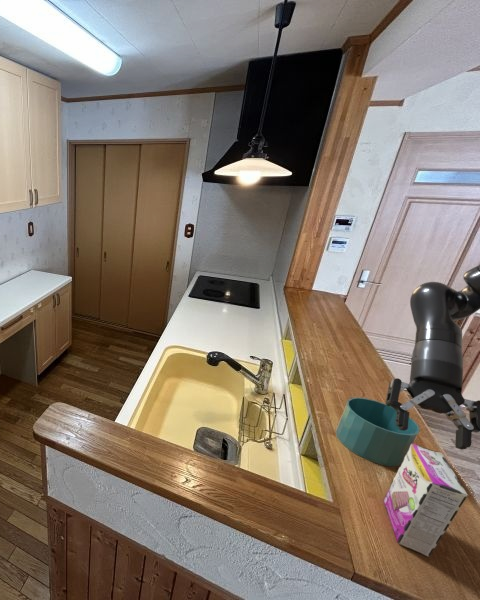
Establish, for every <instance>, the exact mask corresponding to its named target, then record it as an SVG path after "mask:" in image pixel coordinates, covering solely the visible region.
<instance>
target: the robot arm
mask: <svg viewBox="0 0 480 600" xmlns="http://www.w3.org/2000/svg"><path fill="white" fill-rule="evenodd" d="M462 277H463V280H464V282H465V283H466V286H464V288H462V289H461V290H456V289H454V288H452V287H451V286H449V285H447V284H445V283H443V282H439V281H427V282H424V283H422V284H420V285H418V286H416V288H415V289H414V290H413V291H412V293H411V295H410V298H409V299H410V300H409V305H410V310H411V311H410V312H411V315H412V319H413V322H414V325H415V328H416V331H415V339H414V347H413V350H412V354H411V358H410V361H411V366H410V374H409V375H410V376H409V382H408V383H407V382H405V381H403V380H402V379H400V378H399V377H398V378H394V379H392V380H391V381H390V382H389V384H388V389H387V393H386V399H385V404H386V405H387V406H391V407H392V408H394V409H395V410H396V412H397V413H396V422H395V423H396V426H399V429H400V430H403V431H404V430H407V429H408V421H409V417H410V411H409V410H410V409H412V408H414V407H415V406H419V407H420V409H422V410H423V409H424V410H429V411H432V412H434V413H437V414H444V416H445V417H446V419H448V420H449V421H451V422H452V423H453V425H454V426H455V427H456V430H455V443H454V445H455V446H454V447H455V448H456V449H458V450H461V451H462V450H466V449H468V448H470V447H471V446H472V435H473V433H479V432H480V400H473V399H472V400H471V399H466V398H465V397H464V396H463V394H462V392H463V382H464V381H463V378H464V376H463V375H464V355H463V330H462V327H461V326H460V325H459V324H458V323H457V322H456V321H460V320H463V319H465V318H468V317H471V316H472V315H473V314H475V313H476V312H478V311H480V264H479V265H476V266H473V267H472V268H470V269H468V270H467V271H466V272H465V273H464V274H463V276H462ZM404 390H406V391H407V393H408V394H409V395H410V399H407V400H406V401H404V402H403V403H402V402H400V401H399V398H400V393H401V392H403V391H404ZM462 405H463V406H464V407H465V410H466V411H468V414H469V415H468V416H469V419H468V418H467V415H466V413H465V412H464V411H463V409H462V408H461V406H462Z"/></svg>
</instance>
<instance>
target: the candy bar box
mask: <svg viewBox="0 0 480 600" xmlns="http://www.w3.org/2000/svg"><path fill="white" fill-rule="evenodd" d="M468 496H469V494H468V493H467V491H466V490H465V488H464V486H463V485H462V483H461V482H460V480H459V478H458V477H457V475H456V473H455V472H454V470H453V469H452V466H451V465H450V463H449V462H448V461H447V459H446V457H445V455H444V454H443V453H442V452H439V451H436V450H432V449H430V448H427V447H422V446H420V445H418V444H415V443H414V444H411V446H410V448H409V450H408V452H407V454H406V456H405V458H404V460H403V462H402V463H401V465H399V467H398V469H397V471H396V474H395V476H394V478H393V480H392V482H391V484H390V486H389V487H388V490H387V492H386V494H385V495H384V498H383V499H382V502H383V505H384V507H385V510H386V513H387V516H388V519H389V522H390V525H391V527H392V531H393V533H394V536H395V539H396V543H397V544H398V545H400V546H402V547H404V548H406V549H409V550H411V551H413V552H417V553H419V554H421V555H422V556H425V557H428V558H430V557H431V555H432V553H433V552H434V550H435V548H436V547H437V546H438V544H439V542H440V541H441V539H442V538H443V536H444V535H445V533H446V531H447V530H448V528H449V527H450V525H451V524H452V521H453V520H454V518H455V517H456V515H457V514H458V512H459V511H460V509H461V507H462V505H463V504H464V502H465V501H466V499H467V498H468Z"/></svg>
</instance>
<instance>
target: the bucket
mask: <svg viewBox="0 0 480 600" xmlns="http://www.w3.org/2000/svg"><path fill="white" fill-rule="evenodd" d="M396 413H397V412H396V410H395V409H394V408H392V407H391V406H387V405H386V403H383V402H381V401H378V400H375V399H370V398H366V397H351V398H349V399H348V400H347V401H346V404H345V406H344V409H343V411H342V413H341V416H340V418H339V420H338V423H337V425H336V429H335V436H336V437H337V439H338V441H339V442H340V443H341V444H342V445H343V446H344V447H345V448H347V450H350V451H351V452H352V453H354V454H356V455H357V456H359V457H360V458H363V459H365V460H367V461H370V462H372V463H374V464H378V465H382V466H386V467H400V466H401V463H402V462H403V460H404V458H405V456H406V454H407V452H408V450H409V448H410V446H411V444H414V445H415V441H416V440H417V437H419V434H420V433H421V429H420V426H419V424H418V422H416V421H415V420H414V419H413V418H411V417H410V416H409V421H408V429H407V430H404V431H403V430H400V429H399V426H396V423H395V422H396Z"/></svg>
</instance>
